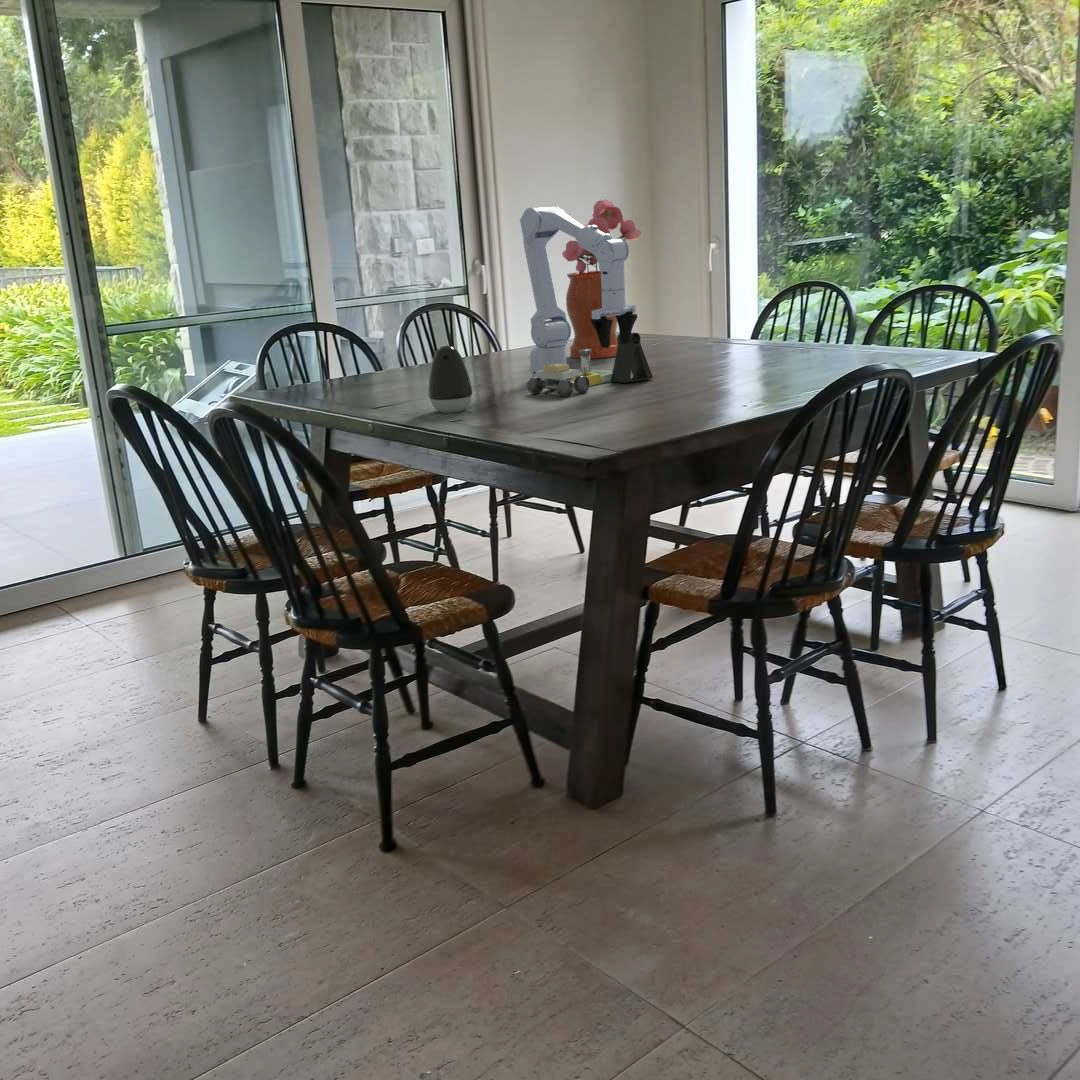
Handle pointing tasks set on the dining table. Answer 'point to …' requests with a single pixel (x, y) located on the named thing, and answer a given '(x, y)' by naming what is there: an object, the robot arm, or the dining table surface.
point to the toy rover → (558, 380)
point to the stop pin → (585, 362)
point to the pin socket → (592, 379)
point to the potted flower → (592, 284)
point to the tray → (604, 375)
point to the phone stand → (630, 361)
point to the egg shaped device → (449, 381)
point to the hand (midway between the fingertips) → (615, 345)
